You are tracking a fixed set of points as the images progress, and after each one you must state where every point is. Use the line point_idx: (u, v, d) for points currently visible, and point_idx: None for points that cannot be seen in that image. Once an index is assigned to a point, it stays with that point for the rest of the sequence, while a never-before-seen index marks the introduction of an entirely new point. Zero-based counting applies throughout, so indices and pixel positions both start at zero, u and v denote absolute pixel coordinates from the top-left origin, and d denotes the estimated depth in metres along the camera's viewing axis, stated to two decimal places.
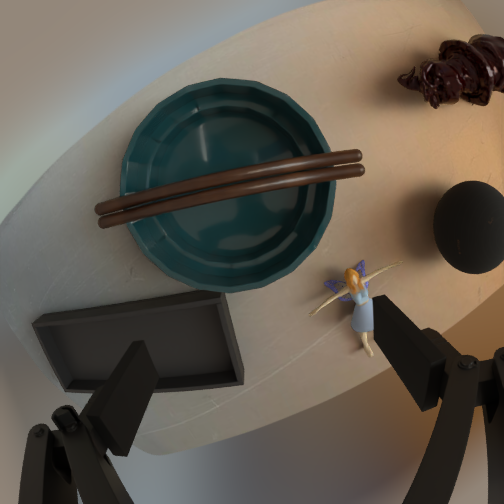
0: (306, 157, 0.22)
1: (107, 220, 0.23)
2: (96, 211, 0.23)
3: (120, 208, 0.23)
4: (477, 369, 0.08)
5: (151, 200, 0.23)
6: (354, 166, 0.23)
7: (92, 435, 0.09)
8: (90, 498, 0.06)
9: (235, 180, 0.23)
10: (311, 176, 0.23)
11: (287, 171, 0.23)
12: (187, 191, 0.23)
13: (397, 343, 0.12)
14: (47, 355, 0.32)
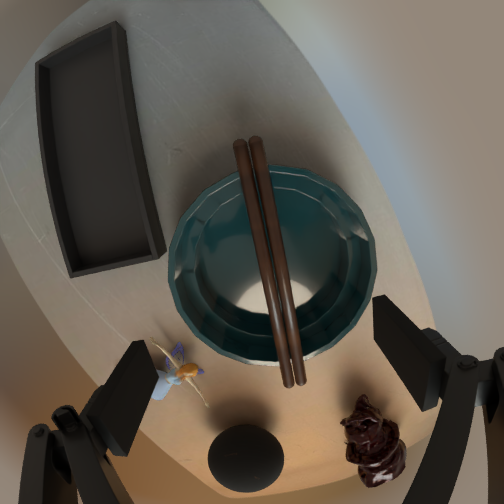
0: (300, 347, 0.26)
1: (243, 153, 0.22)
2: (254, 139, 0.22)
3: (256, 169, 0.22)
4: (477, 369, 0.08)
5: (263, 207, 0.23)
6: (292, 381, 0.27)
7: (92, 435, 0.09)
8: (90, 498, 0.06)
9: (280, 291, 0.25)
10: (283, 352, 0.26)
11: (287, 333, 0.26)
12: (271, 246, 0.24)
13: (397, 343, 0.12)
14: (77, 40, 0.22)
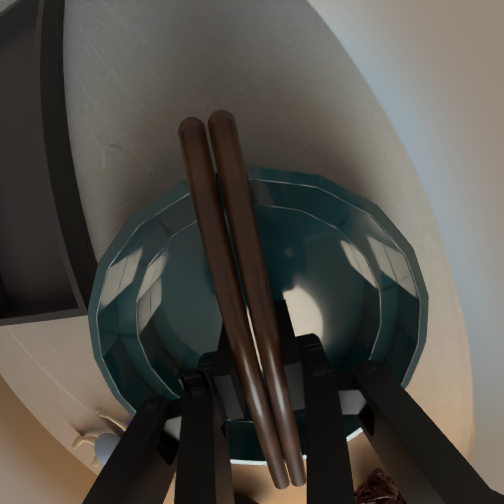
0: (298, 451, 0.15)
1: (195, 145, 0.11)
2: (216, 116, 0.10)
3: (221, 177, 0.11)
4: (332, 373, 0.10)
5: (236, 250, 0.12)
6: (286, 483, 0.16)
7: (218, 403, 0.11)
8: (186, 473, 0.07)
9: (269, 388, 0.14)
10: (273, 458, 0.15)
11: (280, 437, 0.15)
12: (252, 320, 0.13)
13: None
14: (3, 13, 0.11)
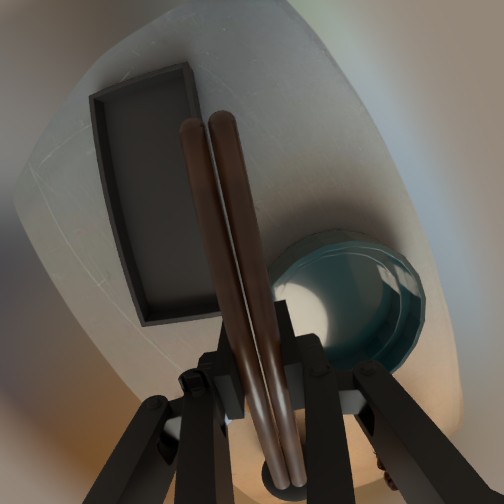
0: (299, 452, 0.15)
1: (195, 146, 0.11)
2: (217, 117, 0.10)
3: (221, 177, 0.11)
4: (332, 373, 0.10)
5: (237, 250, 0.12)
6: (286, 483, 0.16)
7: (218, 403, 0.11)
8: (186, 473, 0.07)
9: (270, 388, 0.14)
10: (274, 458, 0.15)
11: (281, 437, 0.15)
12: (253, 320, 0.13)
13: None
14: (141, 78, 0.25)
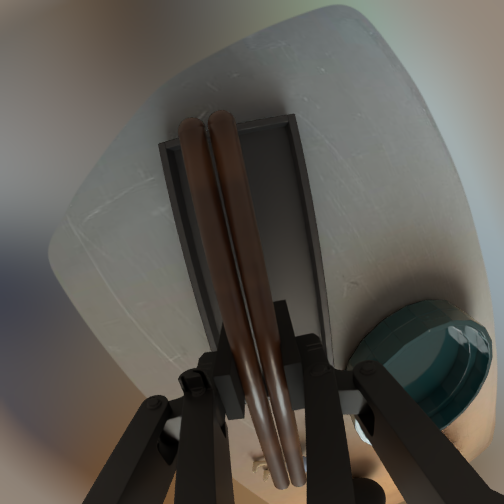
0: (298, 452, 0.15)
1: (195, 146, 0.11)
2: (216, 117, 0.10)
3: (221, 177, 0.11)
4: (332, 373, 0.10)
5: (236, 250, 0.12)
6: (286, 483, 0.16)
7: (218, 403, 0.11)
8: (186, 473, 0.07)
9: (269, 388, 0.14)
10: (274, 459, 0.15)
11: (280, 437, 0.15)
12: (252, 320, 0.13)
13: None
14: None
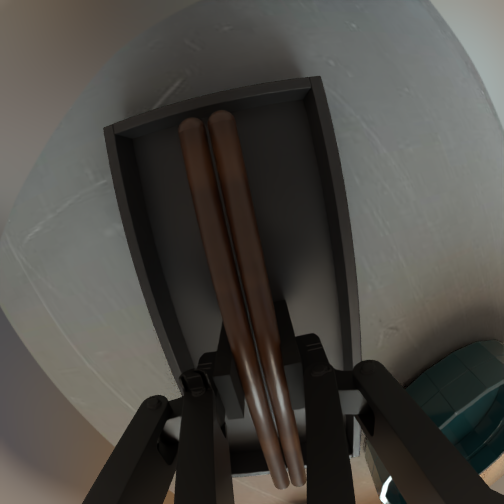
0: (298, 452, 0.15)
1: (195, 145, 0.11)
2: (217, 117, 0.10)
3: (221, 177, 0.11)
4: (332, 373, 0.10)
5: (236, 250, 0.12)
6: (286, 483, 0.16)
7: (218, 403, 0.11)
8: (186, 473, 0.07)
9: (269, 388, 0.14)
10: (274, 458, 0.15)
11: (280, 437, 0.15)
12: (252, 320, 0.13)
13: None
14: (222, 98, 0.13)
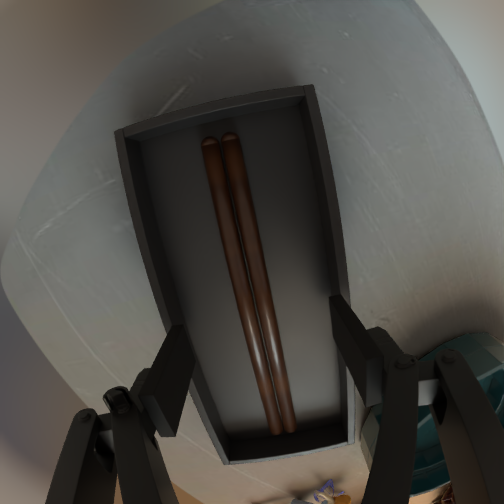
0: (288, 393, 0.20)
1: (213, 156, 0.16)
2: (227, 136, 0.16)
3: (230, 177, 0.17)
4: (416, 366, 0.09)
5: (240, 226, 0.18)
6: (279, 428, 0.21)
7: (143, 418, 0.10)
8: (129, 484, 0.06)
9: (264, 331, 0.19)
10: (268, 399, 0.20)
11: (273, 378, 0.20)
12: (251, 276, 0.18)
13: (346, 340, 0.14)
14: (224, 105, 0.14)
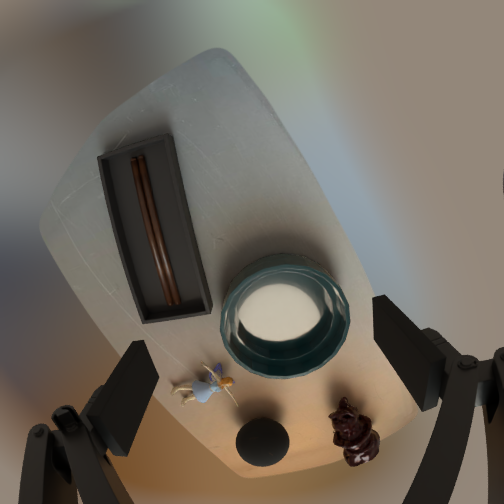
0: (171, 276, 0.44)
1: (133, 165, 0.39)
2: (139, 157, 0.39)
3: (140, 173, 0.40)
4: (477, 369, 0.08)
5: None
6: (170, 300, 0.44)
7: (92, 435, 0.09)
8: (90, 498, 0.06)
9: (156, 239, 0.42)
10: (162, 278, 0.43)
11: (163, 266, 0.43)
12: (149, 213, 0.41)
13: (397, 343, 0.12)
14: (135, 145, 0.37)
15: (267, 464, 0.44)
